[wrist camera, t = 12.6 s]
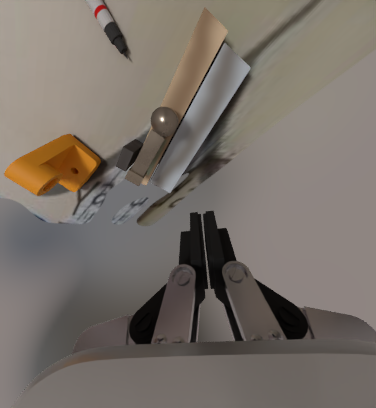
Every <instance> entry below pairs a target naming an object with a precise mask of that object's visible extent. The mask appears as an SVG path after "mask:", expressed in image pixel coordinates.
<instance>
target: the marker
mask: <svg viewBox="0 0 376 408" xmlns="http://www.w3.org/2000/svg"><path fill="white" fill-rule="evenodd" d="M85 1H86V2H87V4H88V6H89V7H90V9H91V11H92V12H93V14H94V16H95V17H96V19H97V20H98V22H99V24H100V25H101V27H102V29H103V30H104V32H105V33H106V35H107V36H108V38H109V40H110V41H111V43H112V44H113V45H115V46H116V48H117V49H118V50H119V52H120V53H121V54H123V53H124V55H125V56H126V58H127V59H128V57H127V55H126V54H125V51H126V50H127V48H126V46H125V44H124V42H123V40H122V35H121V33H120V31H119V30H118V28H117V26H116V24H115V22H114V20H113V18H112V17H111V15H110V13H109V11H108V10H107V8H106V6H105V4H104V3H103V1H102V0H85ZM117 36H118V37H117Z"/></svg>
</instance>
